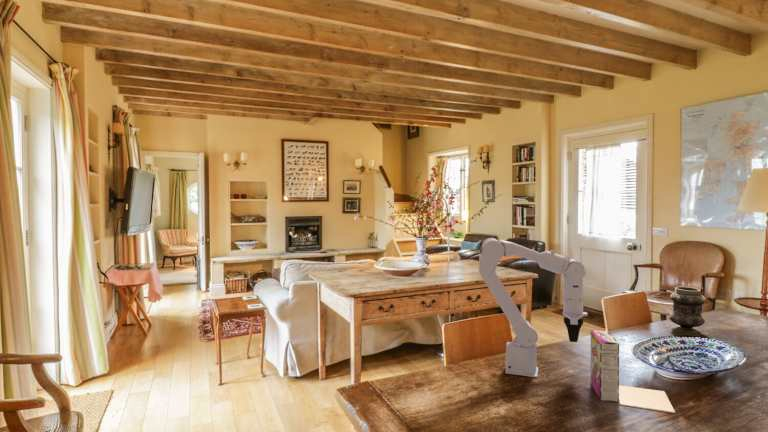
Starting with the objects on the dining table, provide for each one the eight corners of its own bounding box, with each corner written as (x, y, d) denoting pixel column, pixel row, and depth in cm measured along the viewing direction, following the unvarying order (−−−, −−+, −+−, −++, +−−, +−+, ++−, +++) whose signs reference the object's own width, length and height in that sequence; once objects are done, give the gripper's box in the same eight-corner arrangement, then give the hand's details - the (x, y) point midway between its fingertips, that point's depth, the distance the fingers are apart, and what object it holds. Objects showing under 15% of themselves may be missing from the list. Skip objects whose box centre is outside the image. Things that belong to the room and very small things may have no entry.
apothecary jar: (712, 336, 174) (713, 291, 173) (681, 337, 174) (682, 291, 173) (691, 327, 186) (692, 285, 185) (662, 327, 186) (663, 285, 185)
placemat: (620, 405, 118) (620, 404, 118) (614, 385, 130) (614, 384, 130) (675, 413, 114) (675, 412, 114) (664, 392, 126) (664, 391, 126)
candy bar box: (589, 384, 132) (589, 329, 131) (607, 385, 131) (608, 330, 130) (599, 401, 121) (600, 341, 120) (619, 402, 120) (620, 342, 119)
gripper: (588, 304, 130) (588, 350, 130) (585, 294, 143) (586, 335, 144) (562, 302, 132) (563, 347, 133) (562, 292, 146) (562, 333, 146)
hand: (573, 341), depth 139 cm, fingers closed
